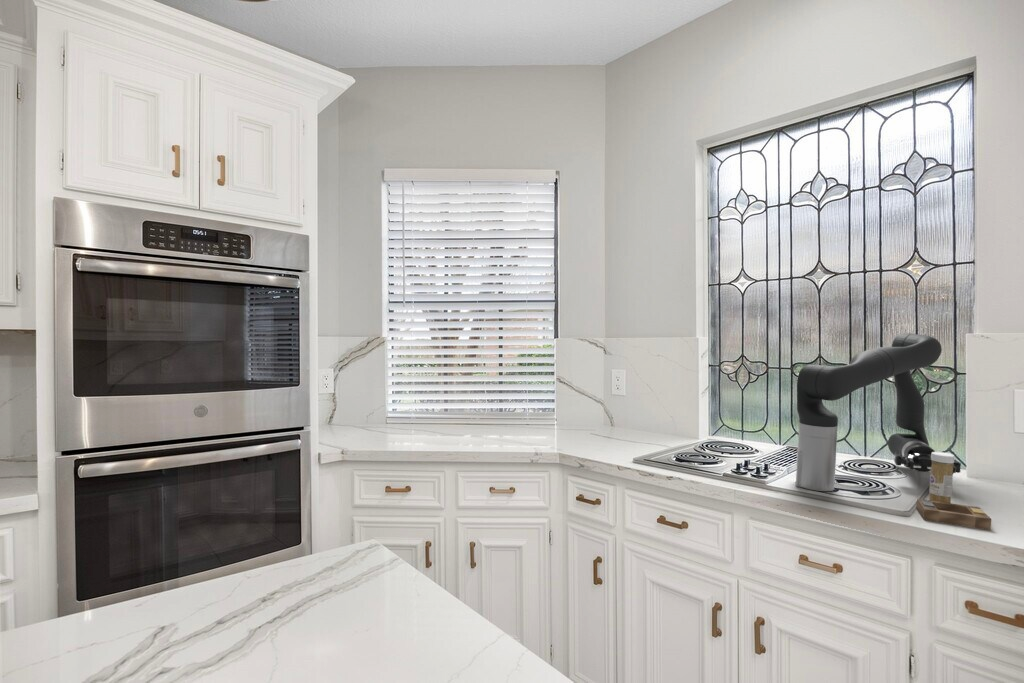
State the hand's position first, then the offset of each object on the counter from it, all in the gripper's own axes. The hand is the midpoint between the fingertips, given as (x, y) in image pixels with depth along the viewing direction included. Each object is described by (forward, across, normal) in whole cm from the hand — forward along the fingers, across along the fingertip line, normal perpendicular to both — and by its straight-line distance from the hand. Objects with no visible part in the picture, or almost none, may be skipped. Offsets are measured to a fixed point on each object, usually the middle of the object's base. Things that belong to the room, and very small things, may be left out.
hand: (931, 468), depth 146 cm
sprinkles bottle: (+10, 0, +8) cm, 13 cm away
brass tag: (+19, +5, +5) cm, 21 cm away
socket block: (+19, 0, +8) cm, 21 cm away
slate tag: (+19, -4, +5) cm, 20 cm away
